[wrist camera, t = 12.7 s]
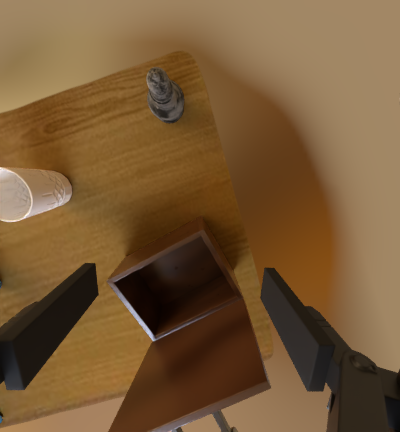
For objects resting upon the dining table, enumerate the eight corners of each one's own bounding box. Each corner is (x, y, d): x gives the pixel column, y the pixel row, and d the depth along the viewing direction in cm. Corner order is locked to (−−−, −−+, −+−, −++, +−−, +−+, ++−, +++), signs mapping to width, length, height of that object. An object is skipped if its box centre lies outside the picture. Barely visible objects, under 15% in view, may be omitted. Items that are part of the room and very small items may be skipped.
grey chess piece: (179, 83, 32) (170, 35, 21) (189, 119, 34) (186, 92, 22) (147, 94, 33) (120, 53, 21) (159, 129, 34) (140, 108, 22)
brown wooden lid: (97, 453, 19) (135, 526, 19) (267, 381, 17) (311, 461, 17) (151, 342, 34) (172, 381, 34) (243, 297, 32) (265, 339, 32)
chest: (125, 256, 40) (105, 280, 31) (201, 215, 38) (203, 228, 30) (161, 307, 43) (153, 341, 35) (233, 271, 41) (243, 298, 33)
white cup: (25, 176, 35) (-39, 179, 26) (62, 161, 35) (10, 158, 25) (48, 213, 37) (-3, 229, 28) (83, 199, 37) (43, 210, 27)
